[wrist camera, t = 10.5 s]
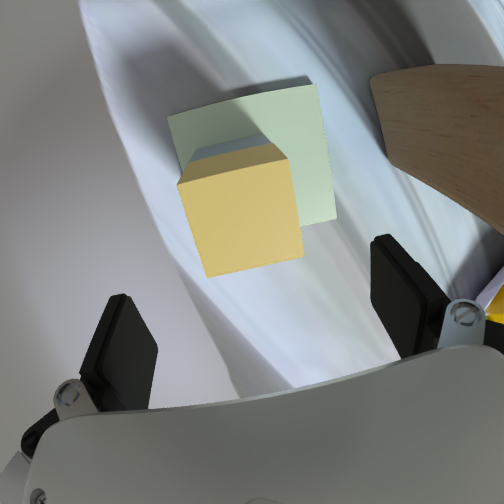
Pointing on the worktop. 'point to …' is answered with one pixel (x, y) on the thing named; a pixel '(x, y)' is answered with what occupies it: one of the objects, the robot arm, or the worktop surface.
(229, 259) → the ochre brick
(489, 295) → the fruit bowl
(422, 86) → the block
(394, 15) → the worktop surface
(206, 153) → the slate brick
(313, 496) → the robot arm
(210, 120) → the plate
